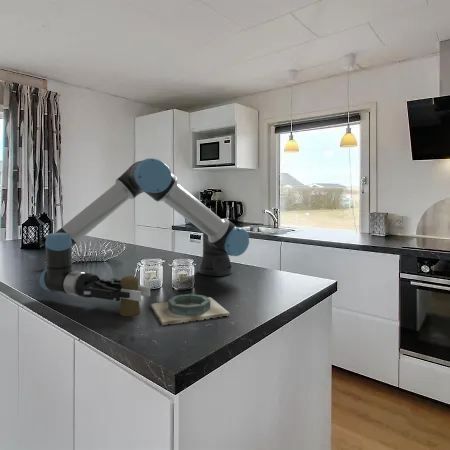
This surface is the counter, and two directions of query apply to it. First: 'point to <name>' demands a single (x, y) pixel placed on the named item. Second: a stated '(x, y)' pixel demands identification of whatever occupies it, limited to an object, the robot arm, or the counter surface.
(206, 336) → the counter surface
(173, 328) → the counter surface
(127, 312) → the cork
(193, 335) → the counter surface
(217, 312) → the ring stand
